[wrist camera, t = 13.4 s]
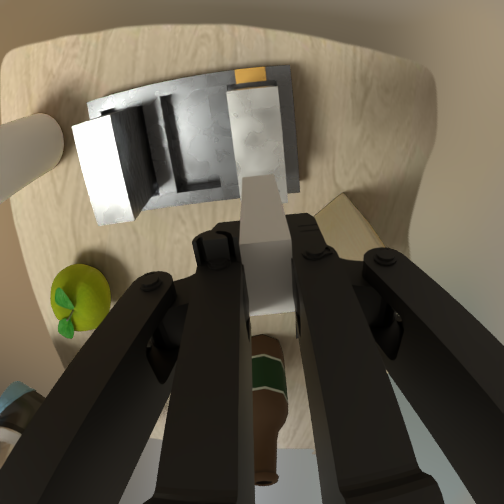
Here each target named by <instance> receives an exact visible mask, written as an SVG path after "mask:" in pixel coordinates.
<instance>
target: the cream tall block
mask: <svg viewBox="0 0 504 504" xmlns="http://www.w3.org/2000/svg"><path fill="white" fill-rule="evenodd" d="M314 218H315V219H316V222H317V224H318V226H319V228H320V231H321V233H322V235H323V237H324V240H325V242H326V244H327V245H329V246H331V247H333V248H334V249H335V250H336V251H337V253H338V256H339V257H340V258H343V259H347V260H356V261H363V258H364V254H365V253H366V252H367V251H368V250H371V249H373V248H379V247H384V248H385V246H384V244H383V243H382V241H381V240H380V238H379V237H378V235H377V234H376V232H375V231H374V229H373V228H372V227H371V225H370V224H369V223H368V221H367V220H366V219H365V218H364V216H363V215H362V214H361V213H360V212H359V211H358V209H357V208H356V207H355V206H354V205H353V203H352V202H351V201H350V200H349V199H348V198H347V196H346V195H345V194H344V193H342V194H340V195H339V196H338V197H336V198H335V199H334V200H333V201H332V202H331V203H329V204H328V205H327V206H326V207H325V208H323V209H322V210H321V211H320V212H319V213H318V214H316V215H315V216H314ZM386 371H387V370H386ZM387 374H388V372H387Z"/></svg>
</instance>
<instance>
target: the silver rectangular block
mask: <svg viewBox="0 0 504 504" xmlns="http://www.w3.org/2000/svg"><path fill="white" fill-rule="evenodd" d="M226 94H227V101H228V109H229V117H230V124H231V132H232V139H233V147H234V154H235V162H236V169H237V177H238V184H239V192H240V199H241V194H242V177H251V176H260V175H270V174H274V176H275V180H276V183H277V187H278V191H279V194H280V198H281V202H282V203H288V198H287V184H286V171H285V159H284V147H283V136H282V125H281V114H280V104H279V94H278V86H273V85H263V86H253V87H243V88H235V89H231V90H229V91H227V92H226Z"/></svg>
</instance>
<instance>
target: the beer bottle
mask: <svg viewBox="0 0 504 504" xmlns="http://www.w3.org/2000/svg"><path fill="white" fill-rule="evenodd" d="M251 350H252V396H253V439H254V481H255V485H258V486H269V485H272V484H275V483H277V481H278V478H279V476H278V475H277V474H276V462H277V461H276V460H277V437H278V432H279V430H280V429H281V428H282V426H283V425H284V423H285V421H286V418H287V415H288V398H287V387H286V377H285V366H284V358H283V352H282V349H281V347H280V344H279V341H278V340H277V339H274V338H271V337H268V336H266V335H263V334H262V335H258V336H253V337H251Z"/></svg>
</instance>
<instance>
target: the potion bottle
mask: <svg viewBox="0 0 504 504" xmlns="http://www.w3.org/2000/svg"><path fill="white" fill-rule="evenodd" d="M63 148H64V139H63V133H62V130H61V128H60V126H59V124H58V123H57V122H56V120H55V119H54V118H52V117H51V116H49V115H47V114H43V113H38V114H33V115H30V116H26V117H23V118H20V119H17V120H14V121H11V122H8V123H5V124H2V125H0V204H1V203H2V202H4V201H5V200H6V199H8V198H9V197H11V196H12V195H13V194H15V193H16V192H18V191H19V190H21V189H22V188H24V187H25V186H27V185H28V184H30V183H31V182H33V181H34V180H36V179H38V178H39V177H41V176H42V175H44V174H45V173H47V172H49V171H50V170H52V169H53V168H54V167H55V166H56V165H57V164H58V163H59V161H60V159H61V156H62V154H63Z"/></svg>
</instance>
